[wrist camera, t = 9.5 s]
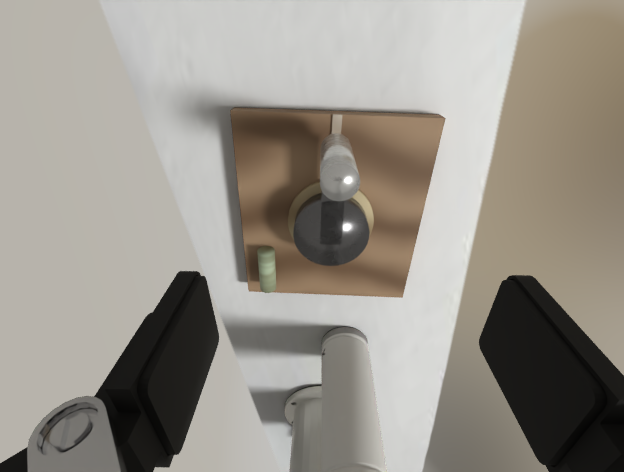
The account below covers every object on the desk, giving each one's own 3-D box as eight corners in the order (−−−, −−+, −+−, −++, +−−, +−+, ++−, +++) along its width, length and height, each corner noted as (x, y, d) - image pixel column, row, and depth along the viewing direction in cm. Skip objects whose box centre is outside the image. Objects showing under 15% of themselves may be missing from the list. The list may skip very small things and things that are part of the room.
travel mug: (310, 339, 43) (302, 532, 26) (350, 319, 41) (370, 516, 24) (336, 363, 46) (345, 553, 29) (376, 345, 44) (410, 540, 27)
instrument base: (399, 288, 38) (405, 308, 35) (251, 282, 38) (245, 302, 35) (439, 114, 28) (453, 122, 25) (234, 107, 28) (224, 114, 25)
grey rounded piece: (378, 128, 26) (402, 164, 18) (363, 255, 33) (375, 321, 25) (293, 126, 26) (280, 162, 18) (295, 253, 33) (286, 318, 25)
